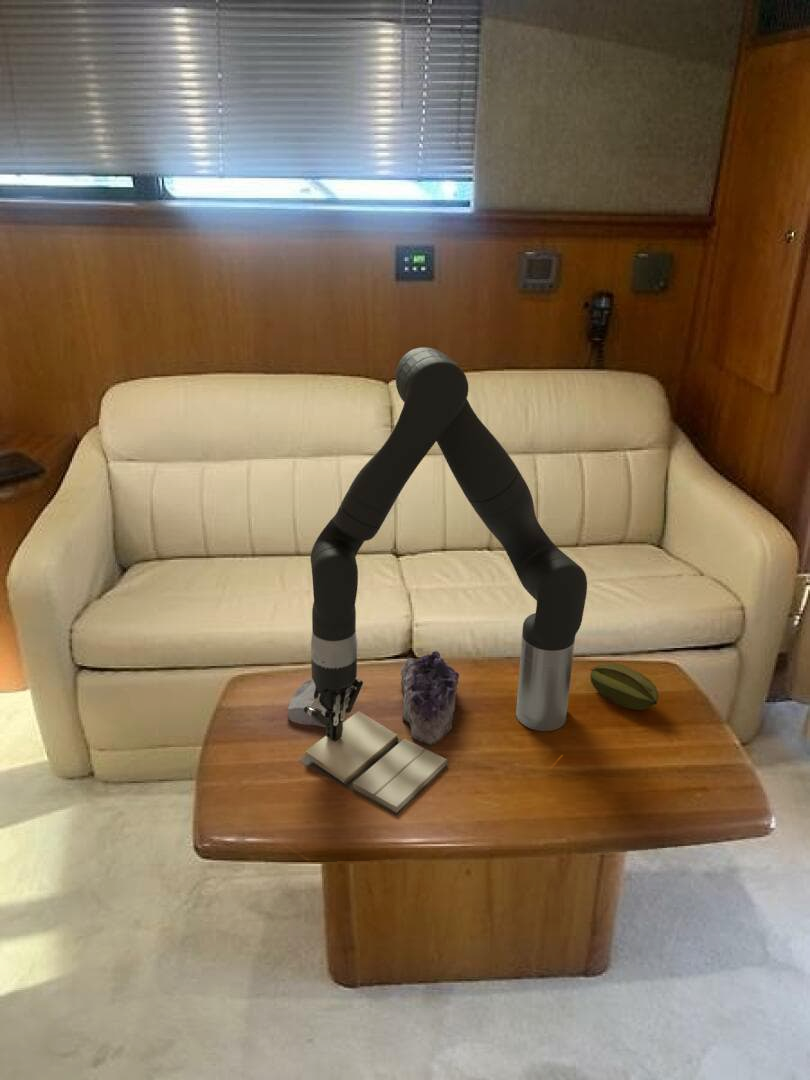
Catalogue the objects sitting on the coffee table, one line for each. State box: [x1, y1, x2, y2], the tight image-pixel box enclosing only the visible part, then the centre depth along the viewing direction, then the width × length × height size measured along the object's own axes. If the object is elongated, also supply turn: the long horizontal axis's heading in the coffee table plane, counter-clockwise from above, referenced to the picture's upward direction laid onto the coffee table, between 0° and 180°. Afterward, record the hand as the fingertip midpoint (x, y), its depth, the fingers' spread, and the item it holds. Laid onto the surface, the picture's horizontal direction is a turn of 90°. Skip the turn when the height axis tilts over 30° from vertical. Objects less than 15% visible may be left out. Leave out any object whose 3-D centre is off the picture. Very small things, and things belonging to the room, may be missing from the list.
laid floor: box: [298, 738, 450, 817], centre depth 134 cm, size 15×21×2 cm
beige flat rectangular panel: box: [304, 710, 399, 784], centre depth 136 cm, size 14×9×1 cm, turn 143°
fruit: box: [589, 663, 659, 711], centre depth 150 cm, size 11×12×7 cm
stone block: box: [287, 678, 326, 728], centre depth 148 cm, size 12×5×10 cm
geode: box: [400, 650, 460, 747], centre depth 146 cm, size 20×12×10 cm, turn 1°
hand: (334, 737), depth 137 cm, fingers closed
